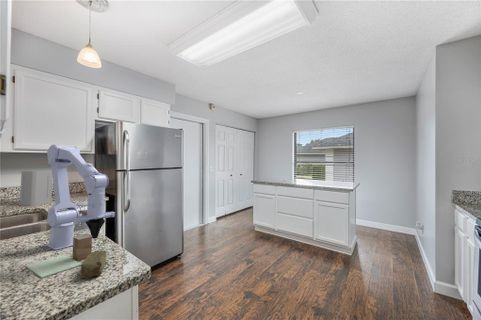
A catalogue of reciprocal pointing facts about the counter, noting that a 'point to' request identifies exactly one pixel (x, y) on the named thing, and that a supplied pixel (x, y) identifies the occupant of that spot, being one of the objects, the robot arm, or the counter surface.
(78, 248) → the walnut block
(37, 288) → the counter surface
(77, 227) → the french press
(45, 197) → the tall grey box
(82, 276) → the stone block
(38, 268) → the sage mat
